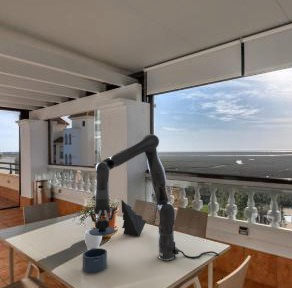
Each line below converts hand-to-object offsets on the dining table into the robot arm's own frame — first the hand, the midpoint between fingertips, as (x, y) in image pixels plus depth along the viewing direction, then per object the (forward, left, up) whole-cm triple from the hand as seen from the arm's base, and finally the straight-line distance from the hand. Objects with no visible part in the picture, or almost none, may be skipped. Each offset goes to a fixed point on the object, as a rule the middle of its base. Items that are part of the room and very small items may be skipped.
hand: (102, 228), depth 136 cm
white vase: (+3, -18, -22) cm, 29 cm away
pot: (+4, 0, -22) cm, 22 cm away
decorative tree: (-27, -42, -22) cm, 55 cm away
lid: (0, 0, -2) cm, 2 cm away
